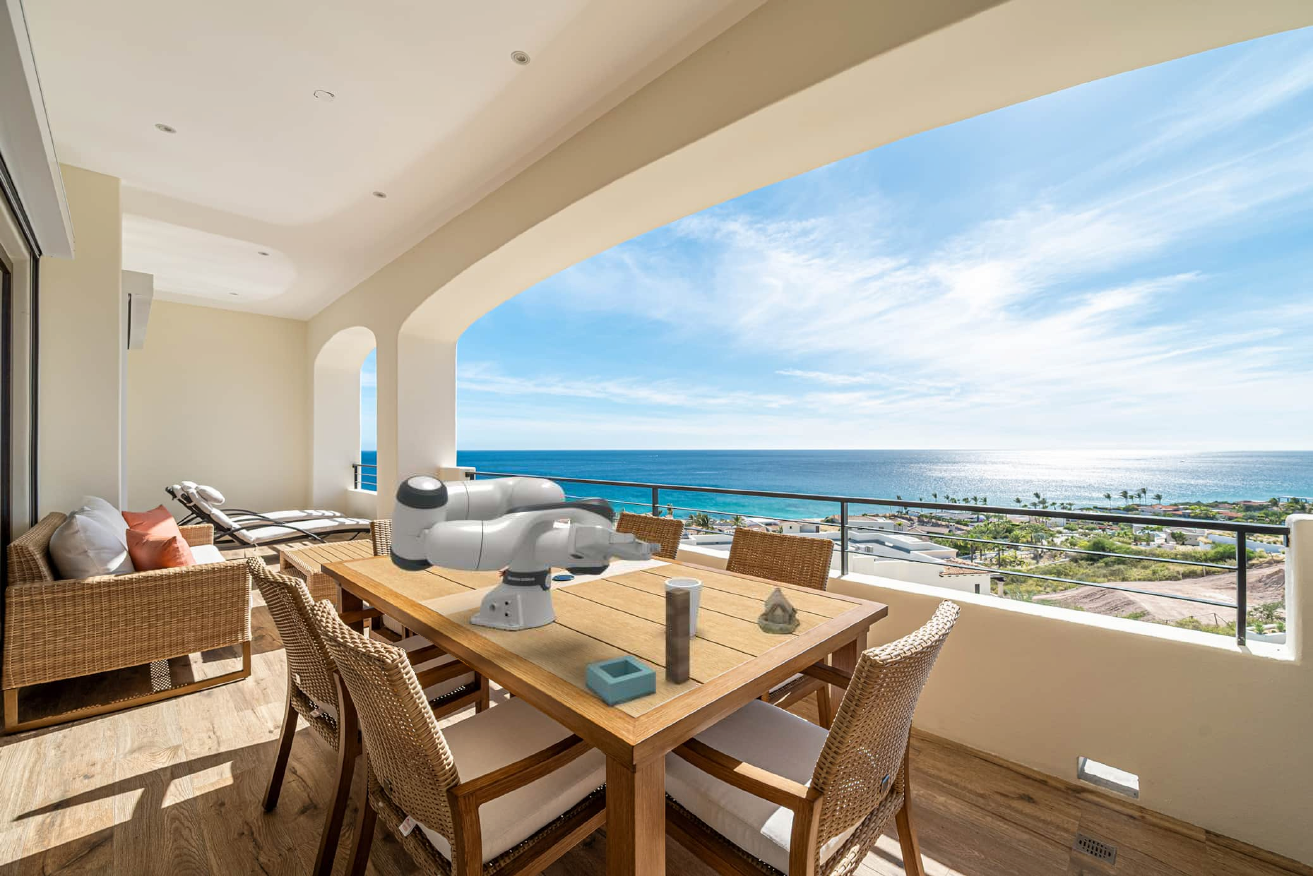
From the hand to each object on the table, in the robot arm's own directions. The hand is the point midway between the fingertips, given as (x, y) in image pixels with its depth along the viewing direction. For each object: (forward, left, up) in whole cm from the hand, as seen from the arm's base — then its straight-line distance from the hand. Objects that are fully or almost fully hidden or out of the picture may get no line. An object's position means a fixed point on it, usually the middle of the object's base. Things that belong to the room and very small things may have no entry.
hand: (646, 543), depth 110 cm
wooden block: (+6, +1, -28) cm, 28 cm away
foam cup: (+2, +28, -28) cm, 40 cm away
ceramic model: (+26, +40, -28) cm, 56 cm away
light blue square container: (-4, -6, -28) cm, 28 cm away
